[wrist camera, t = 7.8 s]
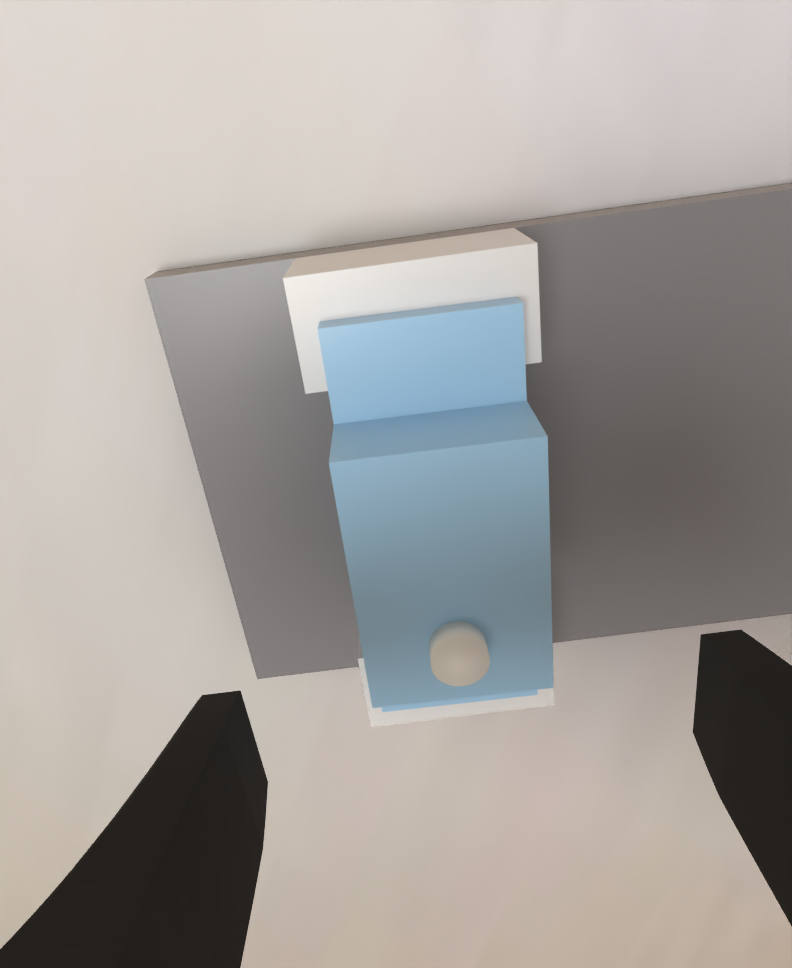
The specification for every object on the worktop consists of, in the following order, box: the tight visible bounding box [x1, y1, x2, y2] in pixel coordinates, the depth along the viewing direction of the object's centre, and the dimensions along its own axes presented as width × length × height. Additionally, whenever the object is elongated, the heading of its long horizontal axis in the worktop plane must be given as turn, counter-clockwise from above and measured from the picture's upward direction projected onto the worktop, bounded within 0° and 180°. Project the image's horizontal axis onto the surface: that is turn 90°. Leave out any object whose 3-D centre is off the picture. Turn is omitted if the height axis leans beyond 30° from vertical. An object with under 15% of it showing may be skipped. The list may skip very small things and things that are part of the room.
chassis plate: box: [144, 183, 792, 727], centre depth 18 cm, size 20×12×4 cm, turn 97°
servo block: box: [318, 297, 554, 712], centre depth 16 cm, size 4×10×6 cm, turn 7°
